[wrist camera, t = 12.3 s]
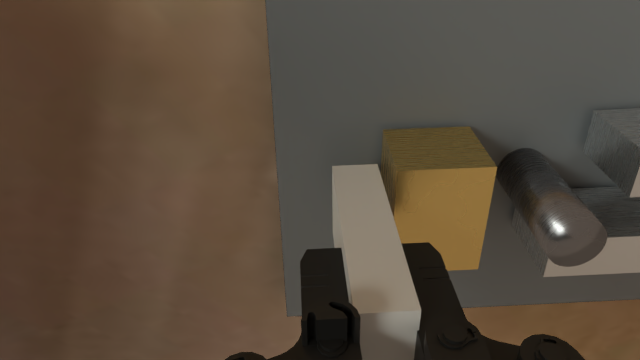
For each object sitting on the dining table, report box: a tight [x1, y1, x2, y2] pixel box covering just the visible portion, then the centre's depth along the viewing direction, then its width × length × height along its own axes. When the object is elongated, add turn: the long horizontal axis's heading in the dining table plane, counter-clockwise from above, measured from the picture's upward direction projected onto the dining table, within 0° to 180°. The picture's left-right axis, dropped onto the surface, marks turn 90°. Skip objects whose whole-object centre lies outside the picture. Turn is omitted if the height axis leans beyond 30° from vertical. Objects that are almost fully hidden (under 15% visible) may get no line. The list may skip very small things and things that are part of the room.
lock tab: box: [381, 126, 497, 271], centre depth 18 cm, size 3×4×3 cm
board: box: [265, 0, 640, 316], centre depth 19 cm, size 26×18×1 cm
